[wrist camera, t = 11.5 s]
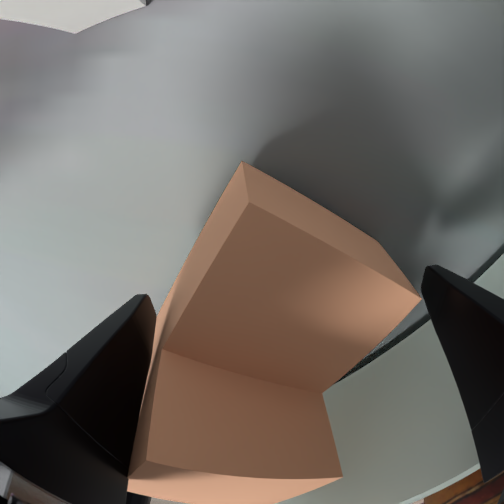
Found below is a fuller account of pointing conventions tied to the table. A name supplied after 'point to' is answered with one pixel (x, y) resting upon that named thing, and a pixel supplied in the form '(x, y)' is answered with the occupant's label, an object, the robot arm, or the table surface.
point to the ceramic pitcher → (470, 491)
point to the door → (401, 423)
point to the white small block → (66, 12)
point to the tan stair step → (260, 348)
